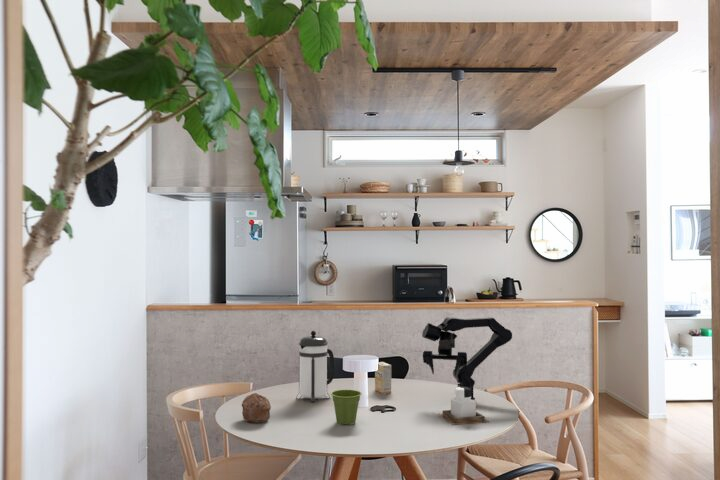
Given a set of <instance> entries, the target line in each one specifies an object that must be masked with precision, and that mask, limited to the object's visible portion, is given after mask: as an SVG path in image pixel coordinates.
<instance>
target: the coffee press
mask: <svg viewBox="0 0 720 480" xmlns="http://www.w3.org/2000/svg"><path fill="white" fill-rule="evenodd" d="M316 334H317V332H316V331H315V330H312V331H311V332H310V335H309V336H303V337H302V338H301V339H300V340H299V342H298V346H299V351H298V367H299V392H298V394H297V395H296V396H295V397H296V400H300V399H301V398H302V397H303V398H306V399H310V400H311V403H312V404H313V403H315V399H320V398H323V397H324V398H326V399H327V400H330V398H331V396H330V395H331V394H329V392H328V385H330V384H331V383H332V382H333V379H334V375H335V373H334V372H335V360H334V359H335V358H334V357H335V356H334V353H333V351H332V350H331V349H329V348H328V344H329V342H328V341H327V339H326V338H325V337H323V336H320V335H316ZM328 356H329V376H328ZM326 395H328V397H327V396H326ZM298 396H300V397H298Z"/></svg>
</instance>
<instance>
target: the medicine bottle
mask: <svg viewBox="0 0 720 480" xmlns="http://www.w3.org/2000/svg"><path fill="white" fill-rule="evenodd" d="M454 389H455V391H454V392H455V398H451V399H450V410H451V414H452V415H453V416H455V417H456V418H460V417H474V416H476V412H477V411H476V410H477V401H476V400H475V399H471V389H470V388H468V387H458V386H456V388H454Z"/></svg>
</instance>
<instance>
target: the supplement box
mask: <svg viewBox="0 0 720 480" xmlns="http://www.w3.org/2000/svg"><path fill="white" fill-rule="evenodd" d="M377 362H378V371H375V370H374V390H375V392H378V393H381V394H383V395H385V394H386V393H387V394H391V393H392V364H389V363H386V362H385V361H380V362H379V361H377Z"/></svg>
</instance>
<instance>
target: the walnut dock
mask: <svg viewBox="0 0 720 480" xmlns="http://www.w3.org/2000/svg"><path fill="white" fill-rule="evenodd" d="M436 415H437V416H438V417H440V418H441V419H443V420H444V421H445V422H446V423H449V424H450V425H451V426H460V425H461V426H462V425H463V426H464V425H472V424H473V425H474V424H475V425H476V424H487V423H489V422H490V423H491V421H490V420H488V419H487V418H486V417H485V416H484V415H483V414H481V413H480V412H478V411H476V416H474V417H460V418H456V417H455V416H453V415H452V414H451V409H448V410H446V409H445V410H442V413H437V414H436ZM490 423H489V424H490Z"/></svg>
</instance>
